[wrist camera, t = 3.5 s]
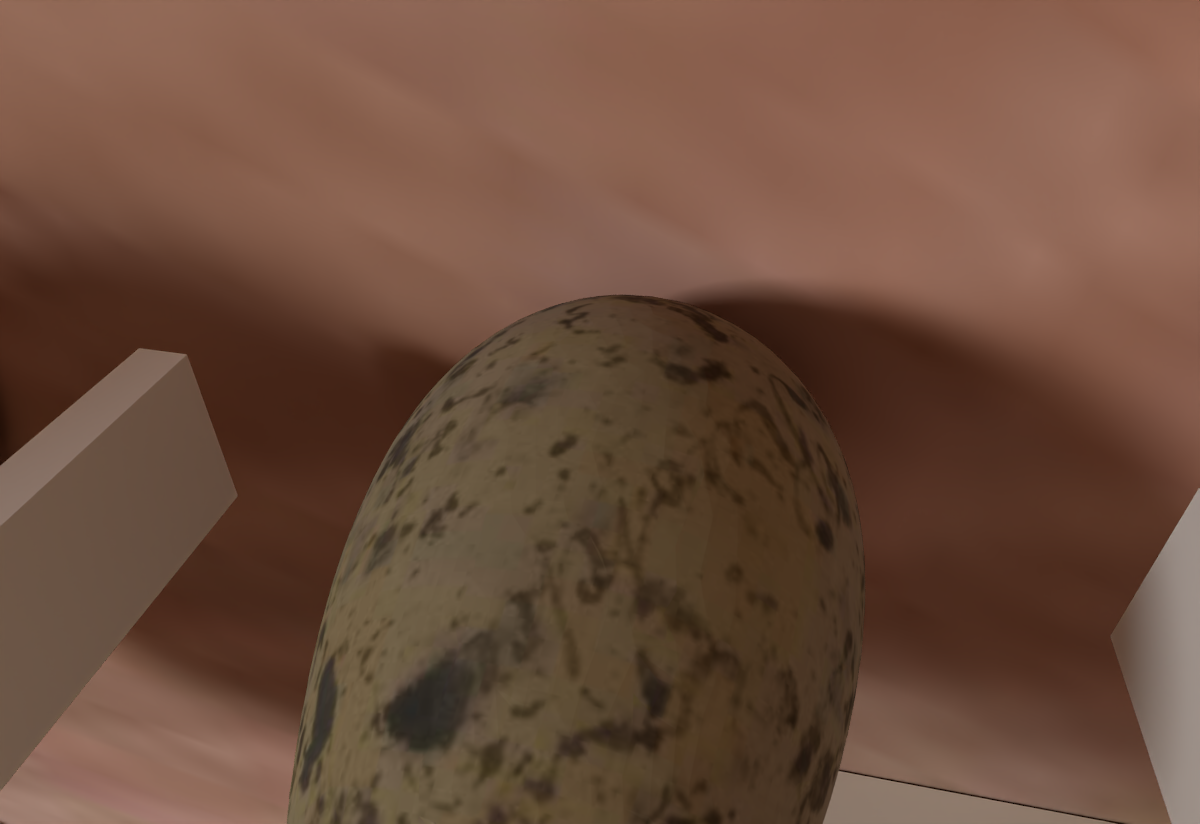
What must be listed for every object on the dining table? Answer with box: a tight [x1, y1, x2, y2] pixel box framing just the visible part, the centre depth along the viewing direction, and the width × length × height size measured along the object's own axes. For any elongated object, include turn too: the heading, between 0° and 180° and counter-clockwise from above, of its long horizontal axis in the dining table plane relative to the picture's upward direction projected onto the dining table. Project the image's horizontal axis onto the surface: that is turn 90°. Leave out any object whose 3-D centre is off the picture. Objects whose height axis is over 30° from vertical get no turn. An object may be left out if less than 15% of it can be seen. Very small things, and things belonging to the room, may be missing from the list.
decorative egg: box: [287, 295, 865, 824], centre depth 9 cm, size 6×6×10 cm
